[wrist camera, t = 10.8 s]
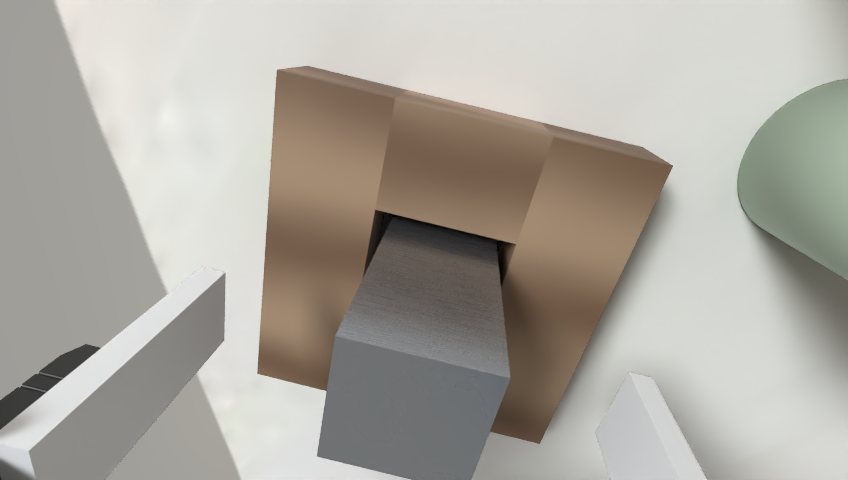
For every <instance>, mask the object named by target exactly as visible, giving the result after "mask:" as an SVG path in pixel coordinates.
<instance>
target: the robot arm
mask: <svg viewBox="0 0 848 480" xmlns="http://www.w3.org/2000/svg"><path fill="white" fill-rule="evenodd" d="M224 321H225V272H222V271H218V270H214V269H210V268H206V267H201V268H200V269H198V270H197V271H196V272H195V273H193V274H192V275H191V276H190V277H189V278H187V279H186V280H185V281H184V282H182V283H181V284H180V285H179V286H177V287H176V288H175V289H174V290H172V291H171V292H170V293H169V294H168V295H166V296H165V297H164V298H163V299H161V300H160V301H159V302H158V303H157V304H155V305H154V306H153V307H151V308H150V309H149V310H148V311H147V312H145V313H144V314H143V315H142V316H140V317H139V318H138V319H137V320H135V321H134V322H133V323H132V324H130V325H129V326H128V327H127V328H126V329H124V330H123V331H122V332H121V333H119V334H118V335H117V336H116V337H114V338H113V339H112V340H111V341H110V342H108V343H107V344H106V345H105V346H103V347H102V348H99V347H95V346H91V345H87V344H85V345H83V346H81V347H79V348H77V349H74V350H72V351H70V352H67V353H65V354H63V355H61V356H59V357H58V358H56V359H55V360H54V361H53V362H51V363H50V364H48V365H47V366H46V367H45V368H43V369H42V370H41V371H40V372H39V374H35V375H34V376H32V377H31V378H30V379H28V380H27V381H26V382H24V383H23V384H22V386H21V387H20V388H19V387H18V388H16V389H15V390H14V391H12V392H11V393H10V394H8V395H7V396H6V397H4V398H3V399H2V400H0V480H105V479H106V478H107V477H108V476H109V475H110V474H111V472H112V471H113V470H114V469H115V468H116V467H117V465H118V464H119V463H120V462H121V461H122V459H123V458H124V457H125V456H126V455H127V454H128V452H129V451H130V450H131V449H132V448H133V446H134V445H135V444H136V443H137V442H138V440H139V439H140V438H141V437H142V436H143V435H144V434H145V432H146V431H147V430H148V429H149V428H150V427H151V425H152V424H153V423H154V422H155V421H156V420H157V418H158V417H159V416H160V415H161V414H162V413H163V411H164V410H165V409H166V408H167V407H168V405H169V404H170V403H171V402H172V401H173V399H174V398H175V397H176V396H177V395H178V394H179V393H180V391H181V390H182V389H183V388H184V387H185V385H186V384H187V383H188V382H189V381H190V380H191V378H192V377H193V376H194V375H195V374H196V373H197V371H198V370H199V369H200V368H201V367H202V366H203V364H204V363H205V362H206V361H207V360H208V359H209V357H210V356H211V355H212V354H213V353H214V351H215V350H216V349H217V348H218V347H219V346H220V344H221V343H222V342H223V341H224ZM595 433H596V436H597V439H598V442H599V446H600V449H601V452H602V455H603V458H604V462H605V465H606V468H607V471H608V475H609V478H610V480H707V479H706V477H705V475H704V473H703V471H702V469H701V468H700V466H699V464H698V462H697V460H696V458H695V456H694V454H693V453H692V451H691V449H690V447H689V445H688V443H687V441H686V439H685V438H684V436H683V434H682V432H681V430H680V428H679V426H678V424H677V423H676V421H675V419H674V417H673V415H672V413H671V411H670V410H669V408H668V406H667V404H666V402H665V400H664V398H663V396H662V395H661V393H660V391H659V389H658V387H657V385H656V383H655V381H654V380H653V378H652V377H648V376H644V375H640V374H636V373H632V372H628V374H627V376H626V378H625V380H624V381H623V383H622V385H621V387H620V389H619V390H618V392H617V394H616V396H615V398H614V399H613V401H612V403H611V405H610V407H609V408H608V410H607V412H606V414H605V416H604V418H603V419H602V421H601V423H600V425H599V427H598V428H597V430H596V432H595Z"/></svg>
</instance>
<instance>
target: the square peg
mask: <svg viewBox="0 0 848 480" xmlns="http://www.w3.org/2000/svg"><path fill="white" fill-rule="evenodd" d="M509 381H510V369H509V360H508V350H507V341H506V332H505V322H504V313H503V303H502V294H501V284H500V275H499V265H498V256H497V246H496V239H493V238H489V237H485V236H481V235H477V234H473V233H469V232H465V231H460V230H456V229H452V228H448V227H444V226H440V225H436V224H432V223H428V222H424V221H420V220H415V219H411V218H407V217H403V216H399V215H395V214H394V215H393V217H392V219H391V221H390V223H389V225H388V227H387V229H386V231H385V234H384V236H383V238H382V240H381V242H380V244H379V246H378V248H377V250H376V252H375V254H374V256H373V258H372V260H371V263H370V265H369V267H368V269H367V271H366V273H365V275H364V277H363V279H362V281H361V283H360V285H359V287H358V289H357V291H356V294H355V296H354V298H353V300H352V302H351V304H350V306H349V308H348V310H347V312H346V314H345V316H344V318H343V320H342V323H341V325H340V327H339V329H338V331H337V333H336V335H335V339H334V346H333V353H332V359H331V366H330V373H329V379H328V386H327V393H326V400H325V406H324V413H323V420H322V426H321V433H320V440H319V446H318V453H317V456H318V457H322V458H326V459H330V460H334V461H338V462H342V463H346V464H350V465H354V466H358V467H362V468H367V469H371V470H375V471H379V472H383V473H387V474H391V475H395V476H399V477H403V478H407V479H411V480H471V478H472V476H473V473H474V471H475V468H476V465H477V463H478V460H479V458H480V455H481V453H482V450H483V447H484V445H485V442H486V440H487V437H488V435H489V432H490V430H491V427H492V424H493V422H494V419H495V417H496V414H497V412H498V409H499V406H500V404H501V401H502V399H503V396H504V394H505V391H506V389H507V386H508V383H509Z"/></svg>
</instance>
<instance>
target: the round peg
mask: <svg viewBox="0 0 848 480" xmlns="http://www.w3.org/2000/svg"><path fill="white" fill-rule="evenodd" d="M738 193H739V198H740V201H741V204H742V207H743V209H744V210H745V212H746V214H747V215H748V217H749V218H750V219H751V220H752V221H753V222H754V223H755V224H756V225H757V226H759V227H760V228H762V229H763V230H765V231H767V232H768V233H770V234H772V235H773V236H775V237H776V238H778V239H780V240H781V241H783V242H785V243H786V244H788V245H790V246H791V247H793V248H795V249H796V250H798V251H800V252H801V253H803V254H805V255H806V256H808V257H809V258H811V259H813V260H814V261H816V262H818V263H819V264H821V265H823V266H824V267H826V268H828V269H829V270H831V271H833V272H834V273H836V274H838V275H839V276H841V277H842V278H844V279H846V280H847V281H848V79H843V80H837V81H833V82H830V83H826V84H823V85H820V86H818V87H815V88H813V89H810V90H808V91H806V92H804V93H803V94H801V95H799V96H797V97H796V98H794V99H792V100H791V101H789V102H788V103H786V104H785V105H784V106H783V107H781V108H780V109H779V110H777V111H776V112H775V113H774V114H773V115H772V116H771V117H770V118H769V119H768V120H767V121H766V122H765V123H764V124H763V126H762V127H761V128H760V129H759V130H758V132H757V133H756V134H755V136H754V137H753V139H752V140H751V142H750V144H749V146H748V148H747V149H746V151H745V154H744V156H743V159H742V162H741V165H740V169H739V175H738Z"/></svg>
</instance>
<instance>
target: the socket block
mask: <svg viewBox="0 0 848 480" xmlns="http://www.w3.org/2000/svg"><path fill="white" fill-rule="evenodd" d="M672 167H673V166H672V165H671V164H669V163H667V162H666V161H664V160H663V159H661V158H659V157H658V156H656V155H654V154H653V153H651V152H649V151H648V150H646V149H644V148H643V147H640V146H635V145H631V144H627V143H623V142H619V141H615V140H611V139H607V138H602V137H598V136H594V135H590V134H586V133H582V132H578V131H574V130H569V129H565V128H561V127H557V126H553V125H549V124H545V123H541V122H536V121H532V120H528V119H524V118H520V117H516V116H512V115H508V114H503V113H499V112H495V111H491V110H487V109H483V108H479V107H475V106H470V105H466V104H462V103H458V102H454V101H450V100H446V99H442V98H437V97H433V96H429V95H425V94H421V93H417V92H413V91H409V90H405V89H400V88H396V87H392V86H388V85H384V84H380V83H376V82H372V81H367V80H363V79H359V78H355V77H351V76H347V75H343V74H339V73H334V72H330V71H326V70H322V69H318V68H314V67H310V66H304V67H296V68H287V69H279V70H277V77H276V92H275V108H274V123H273V139H272V155H271V170H270V186H269V201H268V217H267V232H266V248H265V263H264V279H263V295H262V310H261V326H260V341H259V357H258V372H257V374H261V375H265V376H269V377H273V378H277V379H281V380H285V381H289V382H293V383H297V384H301V385H305V386H309V387H313V388H317V389H321V390H325V391H327V386H328V379H329V373H330V366H331V359H332V353H333V346H334V339H335V335H336V333H337V331H338V329H339V327H340V325H341V323H342V320H343V318H344V316H345V314H346V312H347V310H348V308H349V306H350V304H351V302H352V300H353V298H354V296H355V294H356V291H357V289H358V287H359V285H360V283H361V281H362V279H363V277H364V275H365V273H366V271H367V269H368V267H369V265H370V263H371V260H372V258H373V256H374V254H375V252H376V250H377V248H378V243H379V237H380V232H381V227H382V222H383V216H384V212H387V213H391V214H395V215H399V216H403V217H407V218H411V219H415V220H420V221H424V222H428V223H432V224H436V225H440V226H444V227H448V228H452V229H456V230H460V231H465V232H469V233H473V234H477V235H481V236H485V237H489V238H493V239H497V240H501V241H502V244H501V247H500V250H499V253H498V265H499V275H500V284H501V294H502V303H503V313H504V322H505V332H506V341H507V350H508V360H509V369H510V381H509V383H508V386H507V389H506V391H505V394H504V396H503V399H502V401H501V404H500V406H499V409H498V412H497V414H496V417H495V419H494V422H493V424H492V427H491V430H490V432H494V433H498V434H502V435H506V436H510V437H514V438H518V439H522V440H527V441H531V442H535V443H539V444H540V442H541V440H542V438H543V435H544V433H545V431H546V429H547V427H548V425H549V423H550V421H551V419H552V417H553V415H554V413H555V411H556V408H557V406H558V404H559V402H560V400H561V398H562V396H563V394H564V392H565V390H566V388H567V386H568V383H569V381H570V379H571V377H572V375H573V373H574V371H575V369H576V367H577V365H578V363H579V361H580V359H581V356H582V354H583V352H584V350H585V348H586V346H587V344H588V342H589V340H590V338H591V336H592V334H593V331H594V329H595V327H596V325H597V323H598V321H599V319H600V317H601V315H602V313H603V311H604V309H605V307H606V304H607V302H608V300H609V298H610V296H611V294H612V292H613V290H614V288H615V286H616V284H617V282H618V279H619V277H620V275H621V273H622V271H623V269H624V267H625V265H626V263H627V261H628V259H629V257H630V254H631V252H632V250H633V248H634V246H635V244H636V242H637V240H638V238H639V236H640V234H641V232H642V230H643V227H644V225H645V223H646V221H647V219H648V217H649V215H650V213H651V211H652V209H653V207H654V205H655V202H656V200H657V198H658V196H659V194H660V192H661V190H662V188H663V186H664V184H665V182H666V180H667V178H668V175H669V173H670V171H671V169H672Z"/></svg>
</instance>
